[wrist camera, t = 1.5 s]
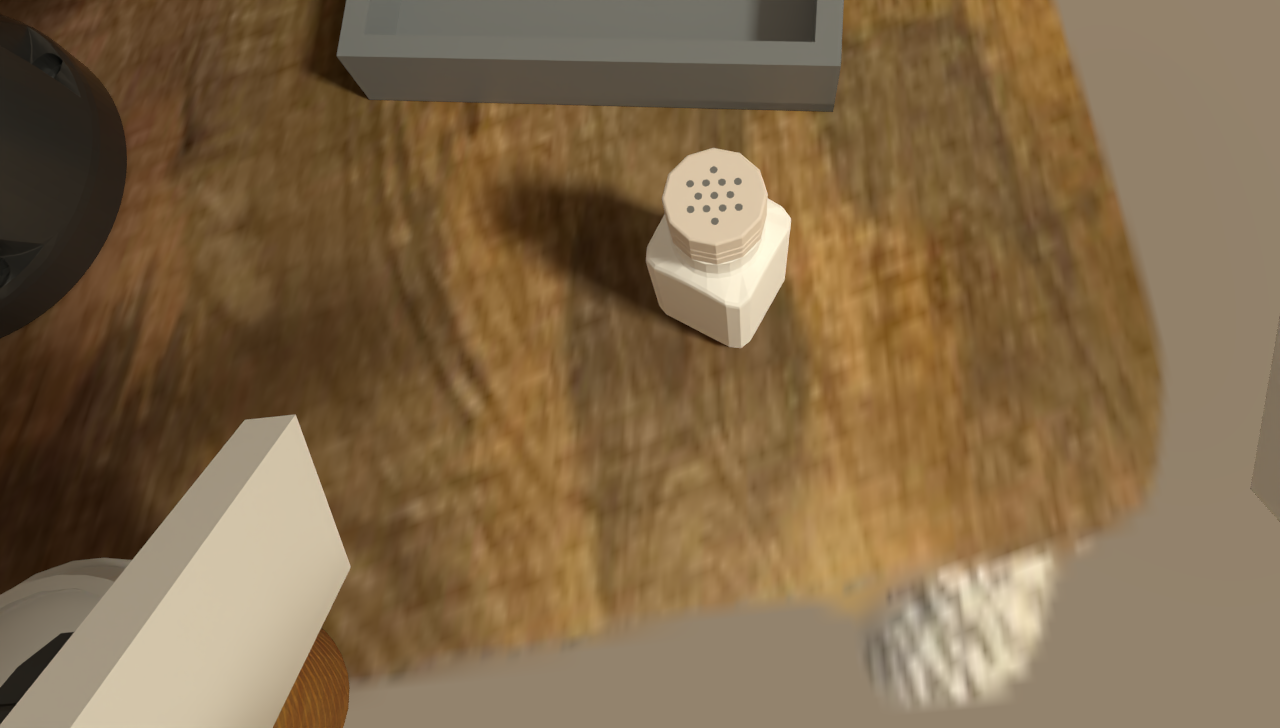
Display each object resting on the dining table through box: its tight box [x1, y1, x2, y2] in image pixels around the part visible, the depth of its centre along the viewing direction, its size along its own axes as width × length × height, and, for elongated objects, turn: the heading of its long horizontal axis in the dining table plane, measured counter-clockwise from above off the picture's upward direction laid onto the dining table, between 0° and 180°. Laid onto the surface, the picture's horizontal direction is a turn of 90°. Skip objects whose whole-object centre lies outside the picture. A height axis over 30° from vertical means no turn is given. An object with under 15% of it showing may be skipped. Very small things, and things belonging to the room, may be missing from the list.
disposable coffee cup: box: [0, 558, 349, 728], centre depth 31 cm, size 10×10×12 cm
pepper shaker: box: [646, 148, 791, 348], centre depth 34 cm, size 4×4×10 cm
